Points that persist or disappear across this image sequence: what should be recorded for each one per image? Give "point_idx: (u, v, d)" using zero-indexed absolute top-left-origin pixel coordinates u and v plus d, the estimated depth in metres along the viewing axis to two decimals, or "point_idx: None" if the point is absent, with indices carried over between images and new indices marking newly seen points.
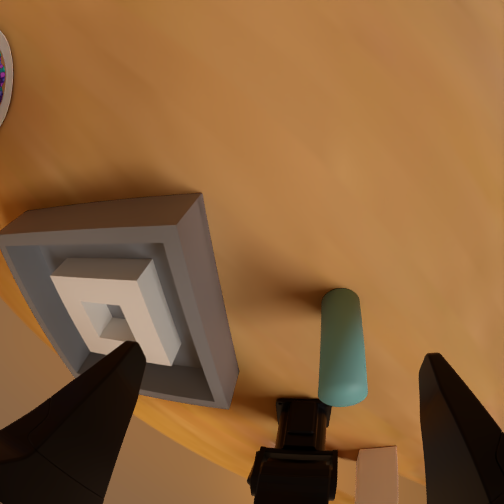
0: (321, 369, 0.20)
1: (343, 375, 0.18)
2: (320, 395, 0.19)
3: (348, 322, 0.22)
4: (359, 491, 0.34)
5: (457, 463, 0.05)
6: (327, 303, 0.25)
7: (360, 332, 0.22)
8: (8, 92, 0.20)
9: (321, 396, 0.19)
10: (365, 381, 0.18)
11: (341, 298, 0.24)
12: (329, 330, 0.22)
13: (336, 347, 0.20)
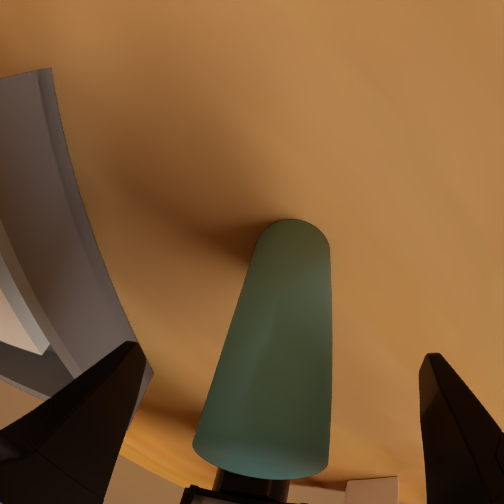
0: (210, 388, 0.08)
1: (248, 415, 0.06)
2: (202, 453, 0.07)
3: (293, 278, 0.10)
4: None
5: (457, 463, 0.05)
6: (259, 246, 0.12)
7: (322, 302, 0.09)
8: None
9: (205, 456, 0.07)
10: (321, 433, 0.06)
11: (286, 234, 0.12)
12: (247, 295, 0.10)
13: (250, 334, 0.08)
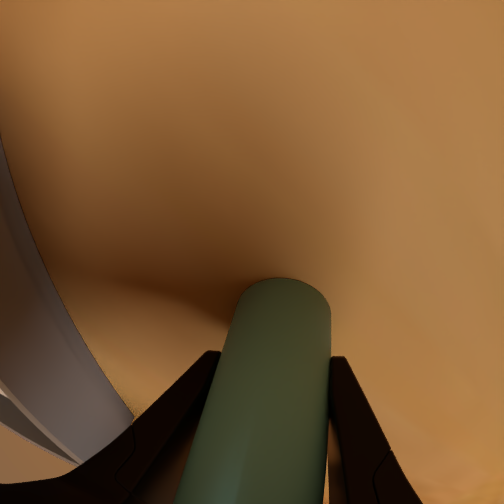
0: None
1: None
2: None
3: (277, 384, 0.07)
4: None
5: (337, 475, 0.05)
6: (238, 317, 0.09)
7: (316, 415, 0.06)
8: None
9: None
10: None
11: (273, 305, 0.09)
12: (215, 403, 0.07)
13: (212, 475, 0.05)
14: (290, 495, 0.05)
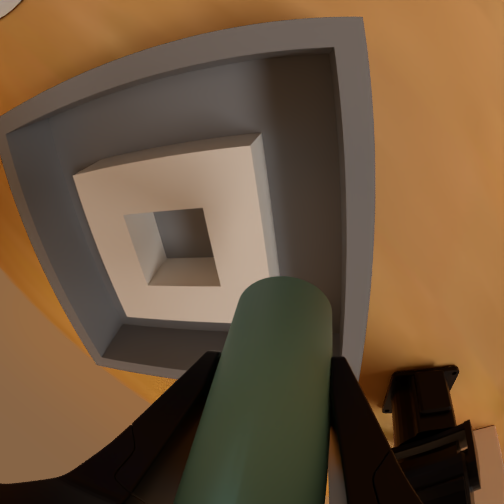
0: None
1: None
2: None
3: (279, 382, 0.07)
4: None
5: (337, 475, 0.05)
6: (239, 315, 0.09)
7: (318, 414, 0.06)
8: None
9: None
10: None
11: (274, 303, 0.09)
12: (216, 401, 0.07)
13: (214, 474, 0.05)
14: (292, 494, 0.05)
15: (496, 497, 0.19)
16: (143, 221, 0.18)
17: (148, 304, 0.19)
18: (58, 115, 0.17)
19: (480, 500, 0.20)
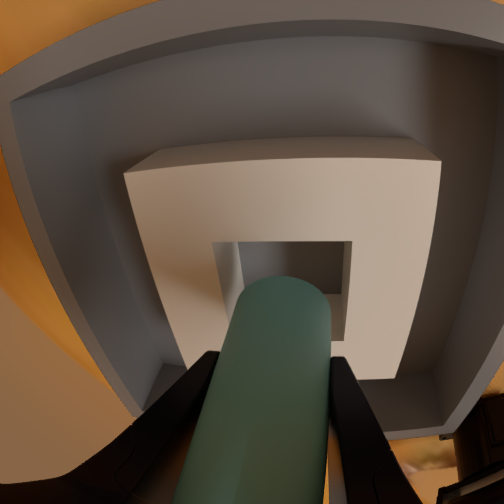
0: None
1: None
2: None
3: (277, 382, 0.07)
4: None
5: (337, 475, 0.05)
6: (237, 315, 0.09)
7: (316, 414, 0.06)
8: None
9: None
10: None
11: (272, 302, 0.09)
12: (213, 401, 0.07)
13: (211, 474, 0.05)
14: (290, 494, 0.05)
15: None
16: (228, 247, 0.13)
17: None
18: (91, 81, 0.11)
19: None
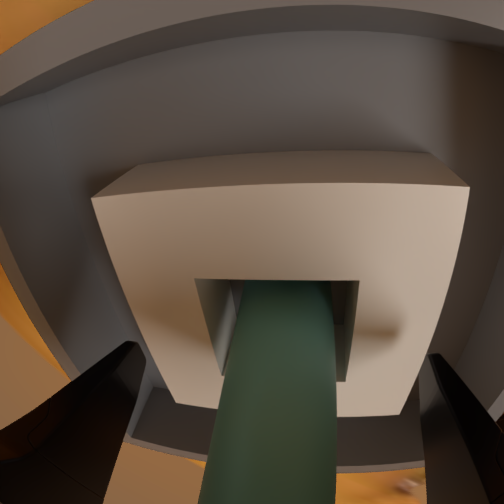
0: (205, 469, 0.06)
1: None
2: None
3: (292, 336, 0.08)
4: None
5: (457, 463, 0.05)
6: (250, 283, 0.11)
7: (325, 362, 0.08)
8: None
9: None
10: None
11: None
12: (239, 357, 0.08)
13: (245, 416, 0.07)
14: (311, 429, 0.06)
15: None
16: None
17: (215, 395, 0.12)
18: (62, 87, 0.09)
19: None
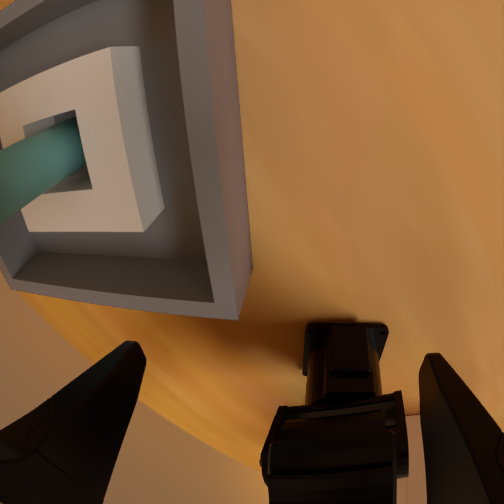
0: None
1: None
2: None
3: (42, 131, 0.13)
4: None
5: (457, 463, 0.05)
6: None
7: (50, 141, 0.13)
8: None
9: None
10: None
11: (66, 120, 0.16)
12: None
13: None
14: (18, 149, 0.11)
15: None
16: None
17: (42, 215, 0.18)
18: None
19: (424, 495, 0.21)
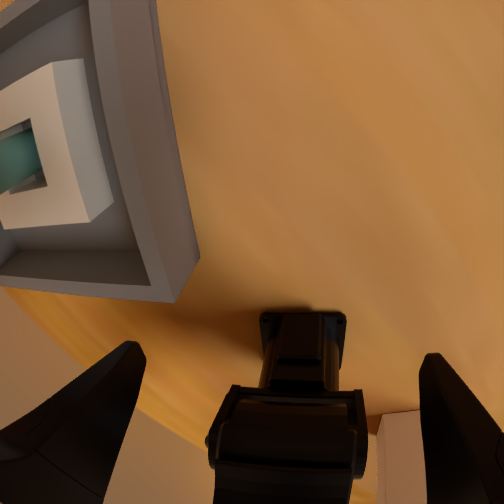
0: None
1: None
2: None
3: (5, 138, 0.14)
4: (386, 474, 0.24)
5: (457, 463, 0.05)
6: None
7: (10, 146, 0.14)
8: None
9: None
10: None
11: None
12: None
13: None
14: None
15: (426, 496, 0.20)
16: None
17: (12, 213, 0.19)
18: None
19: (404, 497, 0.21)
